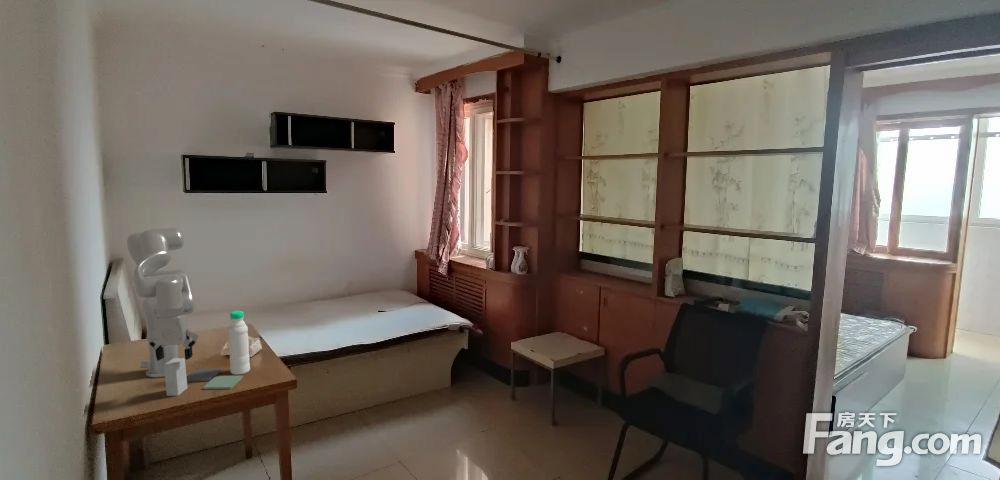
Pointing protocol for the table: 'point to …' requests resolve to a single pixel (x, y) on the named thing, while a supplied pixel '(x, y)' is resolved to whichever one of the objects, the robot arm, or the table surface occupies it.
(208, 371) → the charcoal mat
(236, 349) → the water bottle
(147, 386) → the table surface
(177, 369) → the skincare box
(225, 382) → the sage mat
